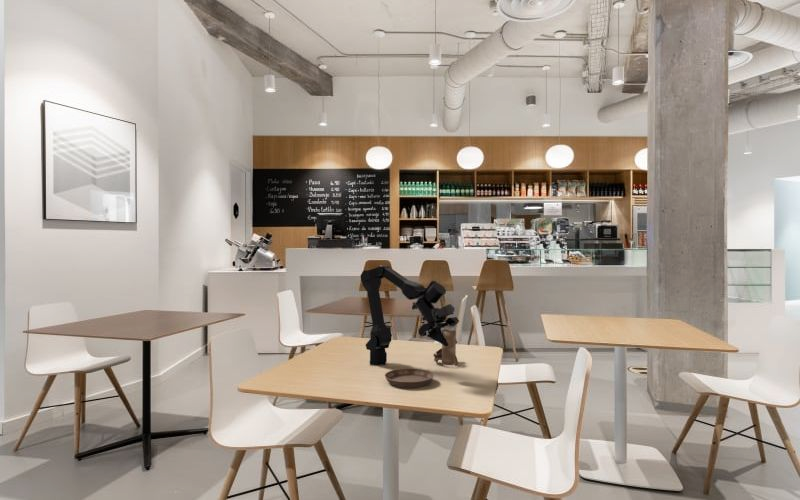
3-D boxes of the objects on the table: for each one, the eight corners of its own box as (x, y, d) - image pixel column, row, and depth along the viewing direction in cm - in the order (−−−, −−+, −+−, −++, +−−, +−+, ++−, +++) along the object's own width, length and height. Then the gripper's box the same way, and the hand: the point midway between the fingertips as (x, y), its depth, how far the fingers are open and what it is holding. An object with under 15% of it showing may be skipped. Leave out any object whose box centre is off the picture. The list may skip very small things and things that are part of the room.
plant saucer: (391, 391, 162) (391, 382, 162) (379, 378, 179) (379, 369, 179) (440, 388, 167) (440, 379, 167) (424, 374, 184) (424, 366, 184)
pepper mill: (442, 365, 172) (443, 327, 172) (440, 361, 177) (441, 325, 177) (456, 365, 173) (457, 327, 172) (454, 361, 178) (454, 325, 177)
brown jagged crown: (455, 369, 193) (445, 351, 193) (437, 376, 198) (427, 359, 198) (465, 356, 204) (455, 339, 204) (447, 362, 209) (438, 346, 209)
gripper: (424, 299, 170) (449, 334, 163) (455, 295, 184) (479, 327, 177) (407, 318, 176) (431, 353, 169) (438, 313, 190) (461, 345, 182)
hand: (451, 344), depth 174 cm, fingers closed on pepper mill, 5 cm apart
